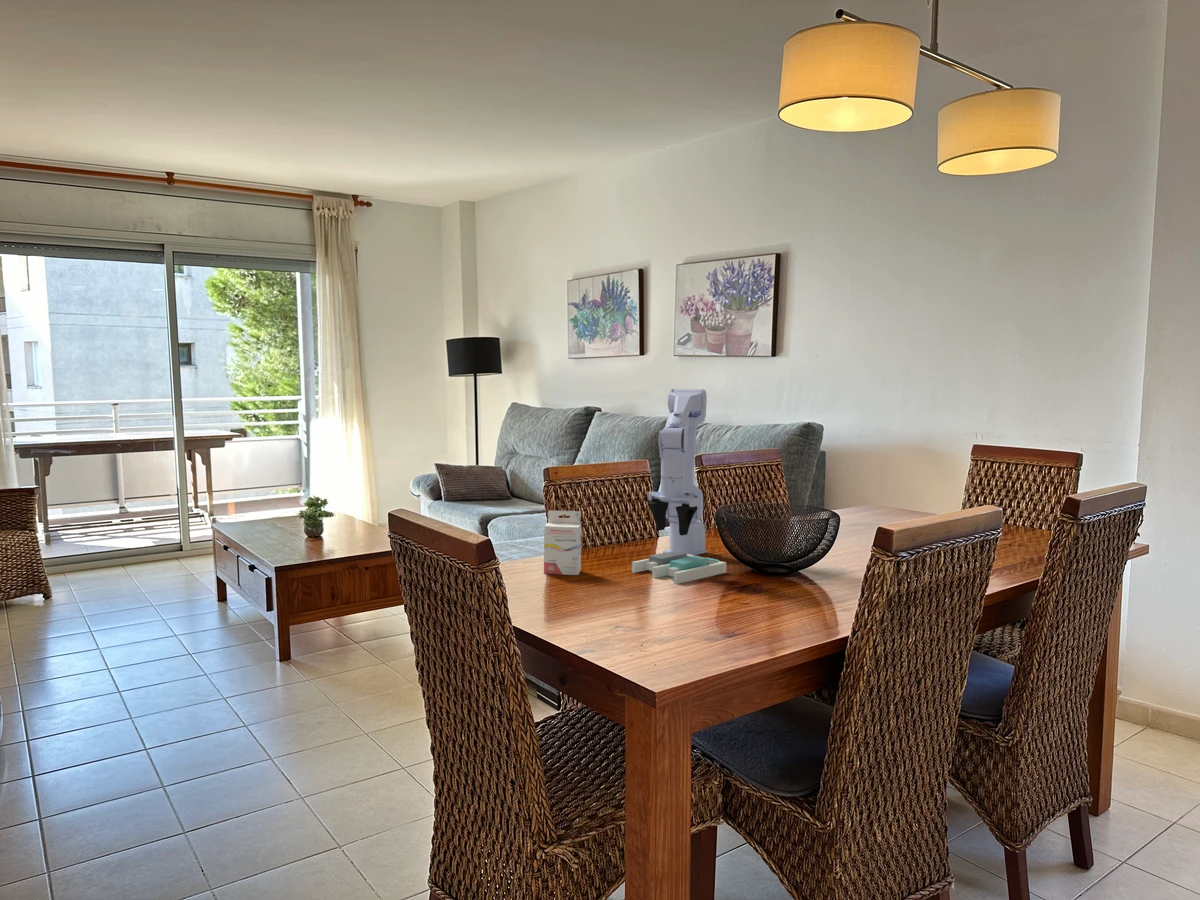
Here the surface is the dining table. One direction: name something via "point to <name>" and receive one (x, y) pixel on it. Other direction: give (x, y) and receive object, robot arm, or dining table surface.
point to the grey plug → (663, 559)
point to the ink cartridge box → (562, 543)
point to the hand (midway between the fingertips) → (672, 532)
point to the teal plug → (686, 564)
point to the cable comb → (685, 575)
